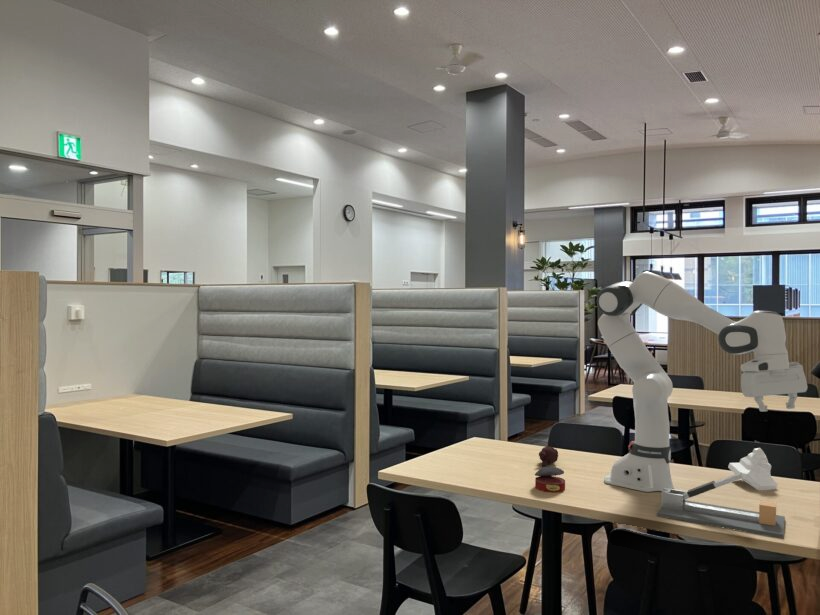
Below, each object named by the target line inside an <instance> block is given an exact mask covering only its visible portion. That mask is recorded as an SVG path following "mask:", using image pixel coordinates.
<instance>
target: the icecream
mask: <svg viewBox="0 0 820 615" xmlns="http://www.w3.org/2000/svg"><path fill="white" fill-rule="evenodd" d="M538 457H539V460H540V461H541V466H542V468H543V467H547V466H548V465H551V464H553V463H556V462H558V458H559V451H558V449H556V448H554V447H553V446H549V445H546V446H545V447H543V448H541V451H539V453H538Z"/></svg>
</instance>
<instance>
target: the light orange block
mask: <svg viewBox="0 0 820 615" xmlns="http://www.w3.org/2000/svg"><path fill="white" fill-rule="evenodd" d="M758 506H759V507H758V508H759V510H758V512H759V523H761V524H767V525H773V526H775V524H776V515H777V502H775V501H767V500H760V501H759V505H758Z"/></svg>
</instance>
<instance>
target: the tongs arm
mask: <svg viewBox="0 0 820 615" xmlns="http://www.w3.org/2000/svg"><path fill="white" fill-rule="evenodd" d="M742 478H743V474H742V472H740V473H737V474H735V473H733V474H732V475H729V476H727V477H724V478H722V479H718V480H712V481H709V482H707V483H703V484H701V485H698V486H696V487H693V488H690V489H689V490H687V491H686V493H684V494H681V495H683V500H688V499H690V498H693V497H696V496H698V495H702V494H704V493H706V492H709V491H712V490H714V489H718V488H720V487H722V486H725V485H728V484H730V483H733V482H736V481H739V480H742Z"/></svg>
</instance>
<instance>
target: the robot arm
mask: <svg viewBox="0 0 820 615" xmlns="http://www.w3.org/2000/svg"><path fill="white" fill-rule="evenodd" d="M596 305H597V308H598V310H599V311H600V312H601V316H599V318H598V320H597V326H598V329H599V332H600V334H601V337H602V339H603V341H604V343H605V344H606V347H608V349H609V351H610V352H611V354H612V356H613V358H614V359H615V361H616V362H617V364H618V366H619V367H620V368H621V369H622V370H623V371H624V372H625V374H627V376H628V377H629V378H630V379H631V381H632V382H633V383H632V401H633V403H632V404H633V411H634V426H635V427H634V440H632V441H630V443H629V444H628V453H627V454H625V455H624V456H622V457H620V458H618V459H617V460H615V462H614V463H613V465H612V466H611V471H610V473H609V474H607V475H605V476H604V479H603V481H604V483H605V484H607V485H612V486H617V487H622V488H627V489H632V490H636V491H640V492H647V493H650V492H662V491H663V490H664V488H668V489H675V488H674V484H673V479H672V475H671V466H670V464H671V458H672V455H671V454H672V453H671V452H672V450H671V446H670V425H671V424H670V420H669V419H670V417H669V407H668V406H669V405H668V399H669V397H671V395H672V393H673V387H674V386H673V385H674V384H673V381H672V380H671V378H670V376H669V375H668V374H667V373H666V371H665V370H664V369H663V367H662V366H661V364H660V363H659V362H658V360H657V359H656V358H655V356H653V355H652V353H651V352H650V351H649V349H648V347H647V346H646V344H645V343H644V341H643V339H642V338H641V337H640V334H638V332H637V330H636V329H635V327H634V326H633V324H632V322H631V316H634V315H635V313H636V312H637V311H638V310H639V309H640V308H641V307H642V305H645V306H647V307H649V308H650V309H652V310H653V311H655V312H656V313H658V314H660V315H663V316H665V317H667V318H670V319H672V320H679V321H684V322H692V323H695V324H698V325H700V326H702V327H704V328H706V329H707V330H709V331H711V332H712V333H714V334H716V335H718V337H717V340H718V345H719V346H720V348H721V349H722V350H723V351H724V352H726V353H728V354H731V355H751V354H754V358H753V359H751V360H749V361H746V362H744V363H742V364H741V365H740V370H741V372H742V374H741V375H740V376H741V377H740V386H741V387H740V388H741V394H742V395H743V396H744V397H746V398H754V401H755V402H756V405H757V406H758V410H759V412H768V410H769V409H768V405H766V404H765V403H764V397H769V396H778V395H787V397H789V398H788V401H787V402H785V406H786V409H790V410H791V409H795V408H796V406H795V403H796V400H797V398H798V393H806V392H807V390H808V382H807V377H806V374H805V371H804V366H803V365H802V364H801V363H799V362H798V361H791V362H790V361H789V352H788V349H787V347H786V341H787V336H786V334H787V333H786V327H785V323H784V319H783V317H782V315H781V314H780V313H778V312H776V311H771V310H770V311H769V310H754V311H752V312H751V313H750V314H749V315H748V316H746V317H744V318H742V319H740V320H738V321H737V320H734V319H732V318H729V317H728V316H726V315H724V314H722V313H720V312H718V311H717V310H715V309H713V308H711V307H709V306H707V304H705V303H703V302H702V301H701V300H700V299H698V298H696V296H694V295H692V293H691V292H689V290H686V289H685V288H684V287H682V286H681V285H679V284H678V283H676V282H674V281H672V280H670V279H668V278H666V277H664V276H662V275H659V274H657V273H654V272H650V271H643V272H641V273H639V274H638V275H637V276H636V277H635V278H634V279H633V280H624V281H619V282H615V283H613V284H611V285H608V286H605V287H604V288H602V289H601V290H599V293H598V294H597V297H596Z"/></svg>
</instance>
